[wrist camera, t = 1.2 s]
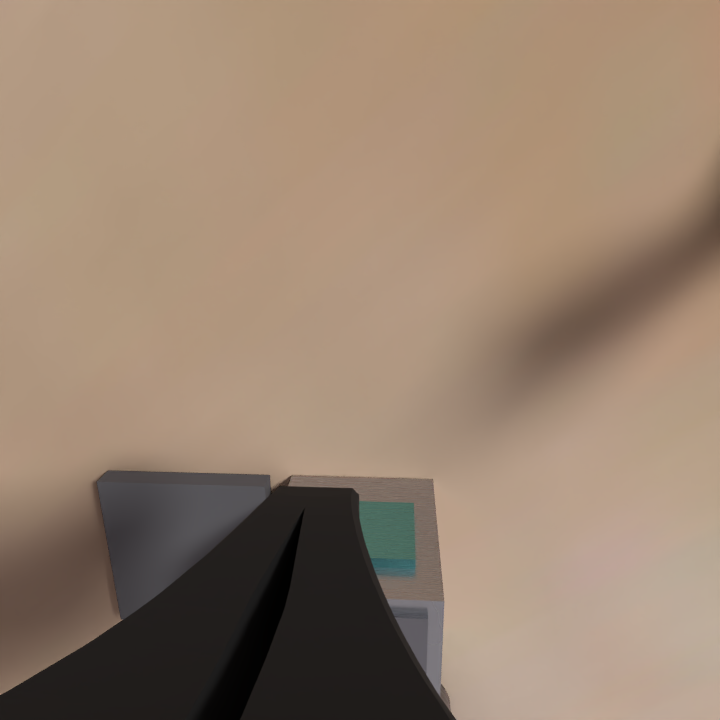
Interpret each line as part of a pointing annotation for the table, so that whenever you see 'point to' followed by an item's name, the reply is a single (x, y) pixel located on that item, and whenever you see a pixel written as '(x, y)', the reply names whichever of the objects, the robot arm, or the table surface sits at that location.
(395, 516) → the control box
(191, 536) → the pad
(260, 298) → the table surface
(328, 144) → the table surface
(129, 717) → the robot arm
